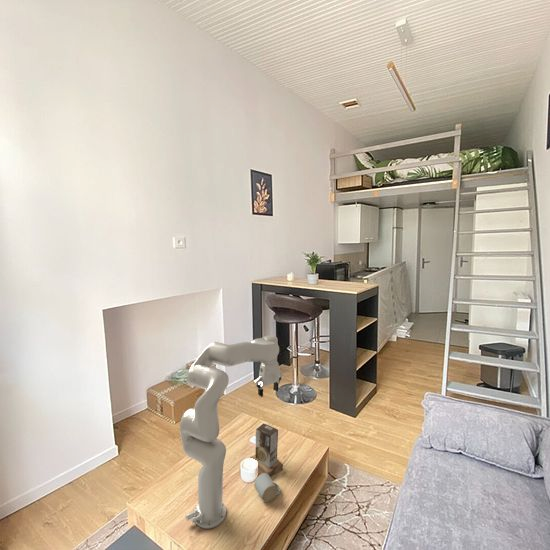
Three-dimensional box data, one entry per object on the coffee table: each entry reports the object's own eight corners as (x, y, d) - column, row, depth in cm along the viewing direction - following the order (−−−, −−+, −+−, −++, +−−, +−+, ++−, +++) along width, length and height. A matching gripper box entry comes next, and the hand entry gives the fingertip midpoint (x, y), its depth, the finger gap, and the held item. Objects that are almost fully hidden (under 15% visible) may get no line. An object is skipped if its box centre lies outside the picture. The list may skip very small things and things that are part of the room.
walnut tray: (266, 479, 142) (266, 472, 141) (250, 462, 152) (250, 457, 151) (282, 469, 148) (282, 463, 148) (266, 454, 158) (266, 449, 158)
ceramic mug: (262, 506, 127) (263, 489, 127) (253, 492, 134) (254, 475, 134) (284, 496, 133) (285, 480, 132) (274, 483, 140) (275, 467, 139)
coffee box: (277, 460, 150) (278, 429, 148) (269, 468, 144) (270, 436, 143) (262, 452, 155) (263, 422, 153) (254, 460, 149) (255, 428, 148)
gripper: (259, 366, 146) (258, 401, 148) (287, 359, 157) (286, 391, 159) (250, 361, 152) (249, 394, 154) (278, 354, 163) (276, 385, 165)
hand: (268, 393), depth 156 cm, fingers open, 9 cm apart
